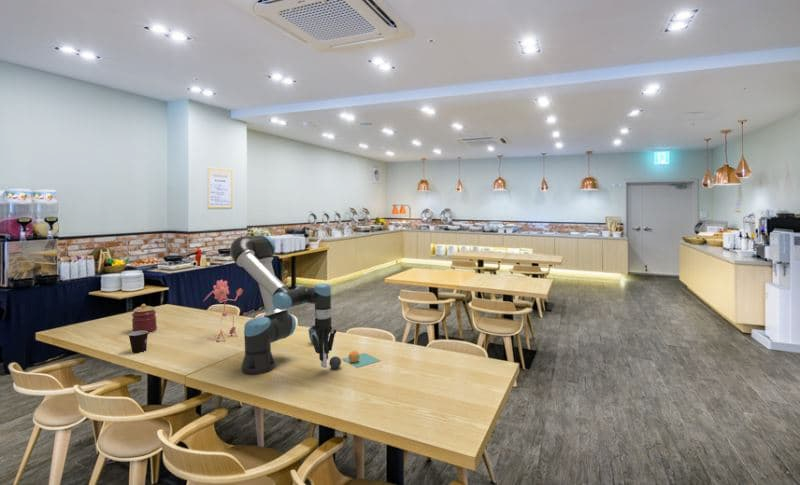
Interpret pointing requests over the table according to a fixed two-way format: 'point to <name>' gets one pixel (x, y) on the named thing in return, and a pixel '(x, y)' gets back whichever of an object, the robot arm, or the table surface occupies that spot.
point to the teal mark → (362, 360)
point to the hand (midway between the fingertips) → (323, 366)
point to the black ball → (335, 362)
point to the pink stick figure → (221, 294)
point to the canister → (144, 319)
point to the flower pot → (311, 330)
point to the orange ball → (354, 356)
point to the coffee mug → (138, 341)
